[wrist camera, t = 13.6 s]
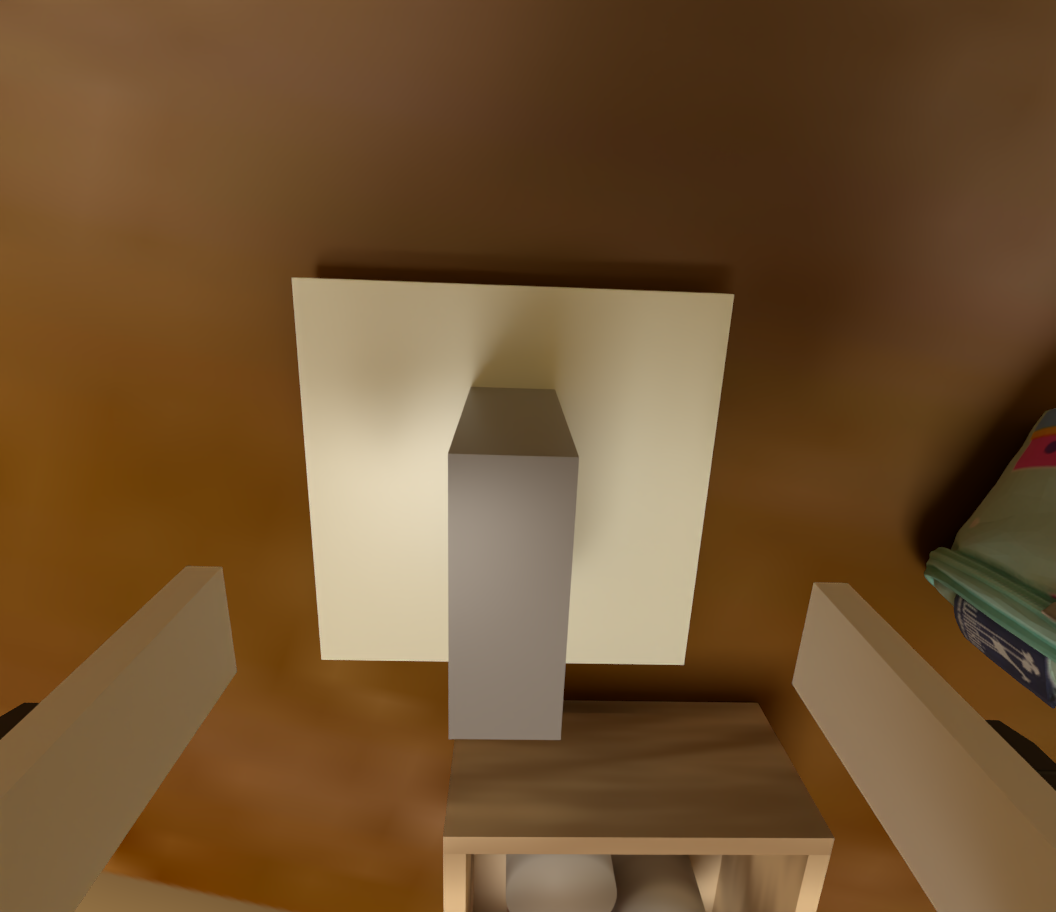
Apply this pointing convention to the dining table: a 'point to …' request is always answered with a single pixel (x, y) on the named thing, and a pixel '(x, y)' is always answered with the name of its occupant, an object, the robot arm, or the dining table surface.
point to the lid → (507, 480)
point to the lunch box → (1010, 567)
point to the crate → (634, 816)
